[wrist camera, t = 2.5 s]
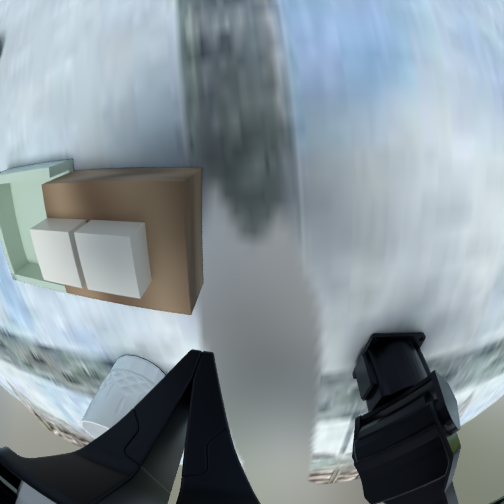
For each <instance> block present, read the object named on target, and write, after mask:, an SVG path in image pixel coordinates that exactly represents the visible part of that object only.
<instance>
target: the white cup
mask: <svg viewBox="0 0 504 504" xmlns="http://www.w3.org/2000/svg"><path fill="white" fill-rule="evenodd" d="M164 377H165V375H164V373H163V372H162V371H161V370H160V369H159V368H158V367H156V366H155V365H154V364H152V363H150V362H149V361H147V360H144V359H142V358H139V357H137V356H128V355H125V356H122V357H120V358H118V359H117V361H116V362H115V364H114V366H113V368H112V369H111V371H110V373H109V374H108V375H107V376H106V378H105V379H104V381H103V383H102V384H101V386H100V387H99V389H98V391H97V393H96V394H95V396H94V398H93V400H92V402H91V403H90V405H89V407H88V409H87V411H86V413H85V414H84V416H83V418H82V420H81V422H80V424H81V426H82V427H83V429H84V430H85V431H86V432H87V433H88V434H90V435H91V436H92V437H94V438H95V439H96V438H97V437H99V436H100V435H102V434H103V433H104V432H106V431H107V430H108V429H110V428H111V427H112V426H114V425H115V424H116V423H117V422H119V421H120V420H121V419H122V418H123V417H124V416H125V415H126V414H127V413H128V412H129V411H130V410H131V409H132V408H134V406H136V405H137V404H138V403H139V402H140V401H141V400H142V399H143V398H144V397H145V396H146V395H147V394H148V393H149V392H150V391H151V390H152V389H153V388H154V387H155V386H156V385H157V384H158V383H159V382H160V381H161V380H162V379H163V378H164Z"/></svg>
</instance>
